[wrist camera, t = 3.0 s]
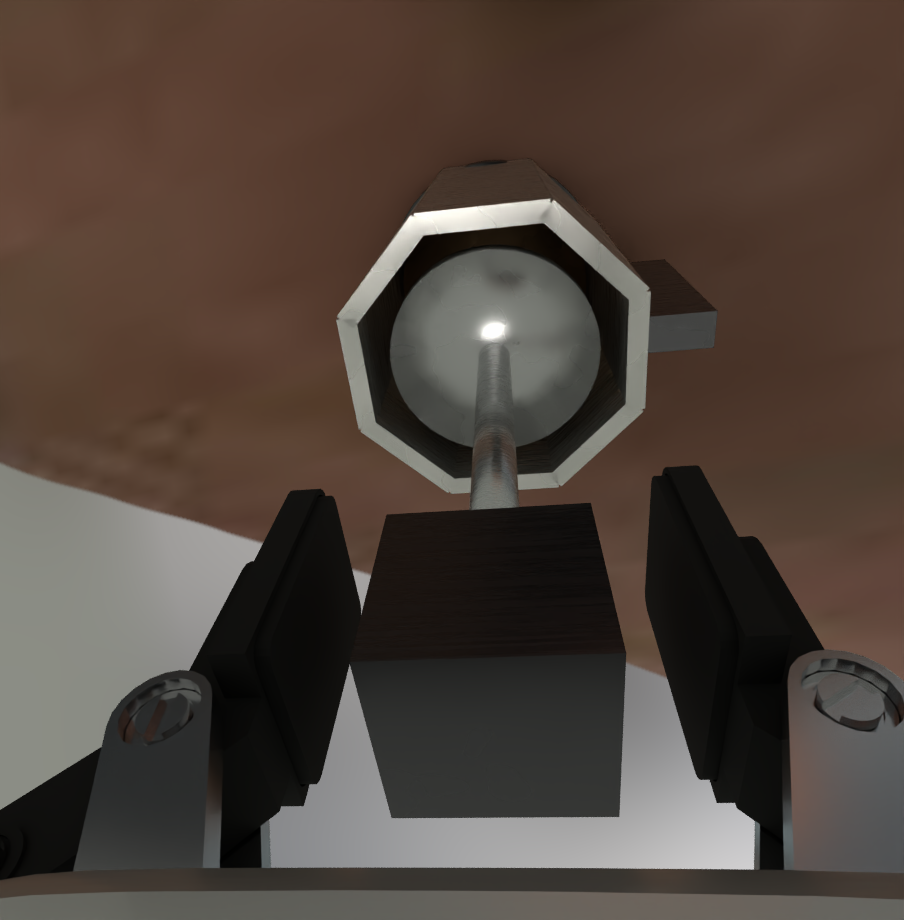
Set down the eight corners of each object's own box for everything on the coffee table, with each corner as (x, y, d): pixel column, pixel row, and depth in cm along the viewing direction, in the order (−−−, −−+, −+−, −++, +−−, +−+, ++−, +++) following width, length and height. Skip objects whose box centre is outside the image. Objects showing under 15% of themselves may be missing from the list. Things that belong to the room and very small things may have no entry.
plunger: (597, 233, 18) (810, 522, 6) (596, 431, 22) (732, 882, 9) (378, 255, 19) (165, 555, 7) (408, 444, 22) (303, 879, 10)
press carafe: (650, 141, 26) (751, 172, 16) (641, 351, 31) (715, 480, 21) (379, 172, 28) (312, 220, 17) (410, 370, 32) (370, 500, 22)
